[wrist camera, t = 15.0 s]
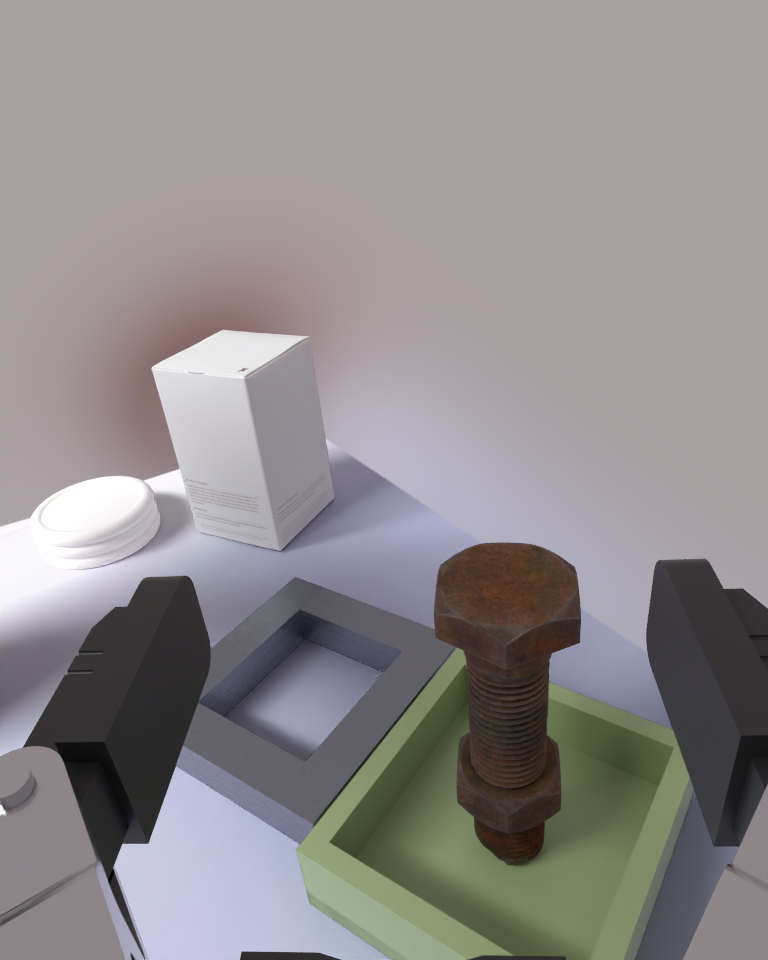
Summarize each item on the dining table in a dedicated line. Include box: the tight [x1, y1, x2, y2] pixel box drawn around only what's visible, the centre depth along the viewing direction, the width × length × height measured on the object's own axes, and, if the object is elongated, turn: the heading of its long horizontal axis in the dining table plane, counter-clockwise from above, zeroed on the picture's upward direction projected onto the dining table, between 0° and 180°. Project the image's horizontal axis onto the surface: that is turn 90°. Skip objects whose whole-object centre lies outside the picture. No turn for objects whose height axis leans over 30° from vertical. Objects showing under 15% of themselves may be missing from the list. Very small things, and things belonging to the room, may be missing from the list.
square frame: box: [176, 577, 457, 844], centre depth 42 cm, size 13×14×2 cm
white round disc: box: [30, 476, 160, 570], centre depth 61 cm, size 10×10×4 cm
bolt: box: [434, 543, 581, 865], centre depth 30 cm, size 6×5×15 cm
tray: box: [296, 648, 694, 960], centre depth 33 cm, size 13×14×4 cm
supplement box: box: [152, 330, 335, 551], centre depth 58 cm, size 9×9×15 cm
